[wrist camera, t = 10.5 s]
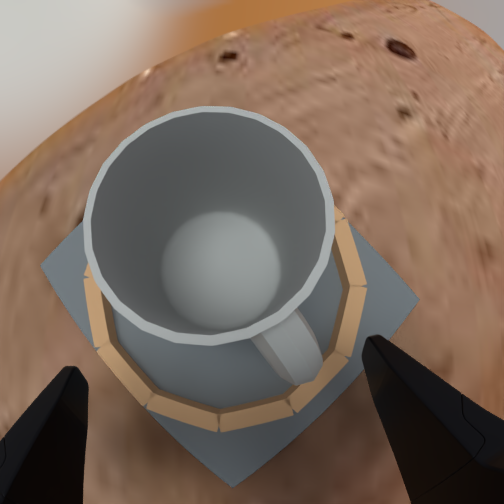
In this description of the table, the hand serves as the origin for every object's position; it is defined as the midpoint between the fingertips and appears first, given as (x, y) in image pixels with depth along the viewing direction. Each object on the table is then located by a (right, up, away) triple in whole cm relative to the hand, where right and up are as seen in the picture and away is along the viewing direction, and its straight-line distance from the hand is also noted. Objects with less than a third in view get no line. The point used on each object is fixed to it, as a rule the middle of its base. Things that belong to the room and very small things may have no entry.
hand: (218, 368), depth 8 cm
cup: (0, +1, +8) cm, 8 cm away
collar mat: (-1, +1, +9) cm, 9 cm away
